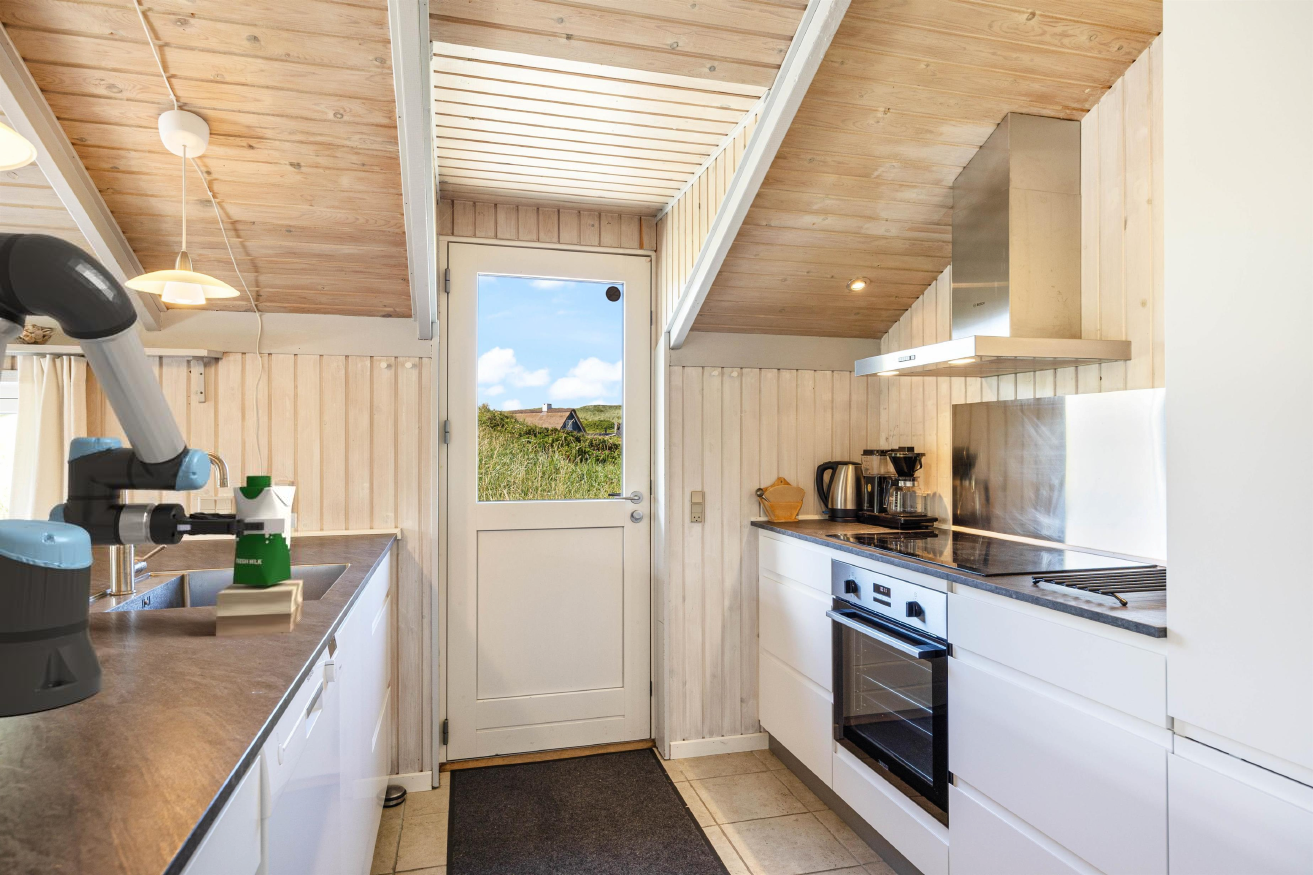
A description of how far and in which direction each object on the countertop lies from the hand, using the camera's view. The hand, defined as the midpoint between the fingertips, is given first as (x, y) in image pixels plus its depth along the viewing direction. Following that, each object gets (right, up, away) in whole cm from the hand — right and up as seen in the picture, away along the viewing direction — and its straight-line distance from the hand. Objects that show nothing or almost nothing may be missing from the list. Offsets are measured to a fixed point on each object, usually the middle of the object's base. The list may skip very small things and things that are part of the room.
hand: (290, 522), depth 139 cm
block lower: (-5, -20, -2) cm, 20 cm away
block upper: (-4, -16, -2) cm, 16 cm away
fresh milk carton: (-5, -11, -1) cm, 12 cm away
